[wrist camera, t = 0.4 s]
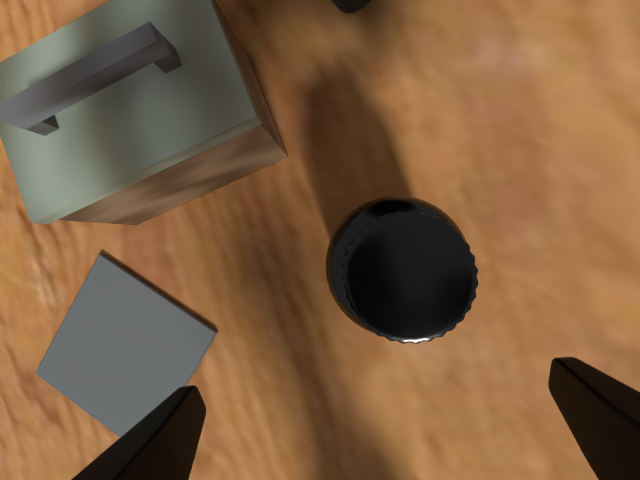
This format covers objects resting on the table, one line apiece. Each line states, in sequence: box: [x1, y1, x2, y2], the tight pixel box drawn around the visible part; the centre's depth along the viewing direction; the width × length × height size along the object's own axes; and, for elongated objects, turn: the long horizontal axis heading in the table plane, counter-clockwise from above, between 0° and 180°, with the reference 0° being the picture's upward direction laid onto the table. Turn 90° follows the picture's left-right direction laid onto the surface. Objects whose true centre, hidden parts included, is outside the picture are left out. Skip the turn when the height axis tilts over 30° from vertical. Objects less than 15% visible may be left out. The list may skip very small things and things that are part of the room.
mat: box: [36, 254, 218, 438], centre depth 25 cm, size 12×12×1 cm
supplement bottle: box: [326, 196, 478, 344], centre depth 16 cm, size 7×7×12 cm
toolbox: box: [0, 0, 288, 225], centre depth 19 cm, size 14×10×10 cm
